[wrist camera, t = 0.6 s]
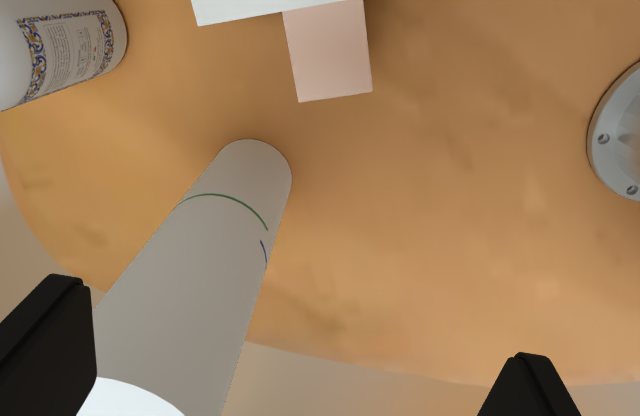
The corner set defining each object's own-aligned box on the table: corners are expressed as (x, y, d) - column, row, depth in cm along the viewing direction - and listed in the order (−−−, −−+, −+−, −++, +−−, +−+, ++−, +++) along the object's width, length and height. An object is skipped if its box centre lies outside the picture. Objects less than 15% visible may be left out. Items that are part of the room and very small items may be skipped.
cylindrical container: (223, 216, 40) (65, 500, 18) (202, 144, 37) (-20, 381, 15) (298, 208, 39) (227, 497, 17) (283, 134, 36) (173, 370, 14)
